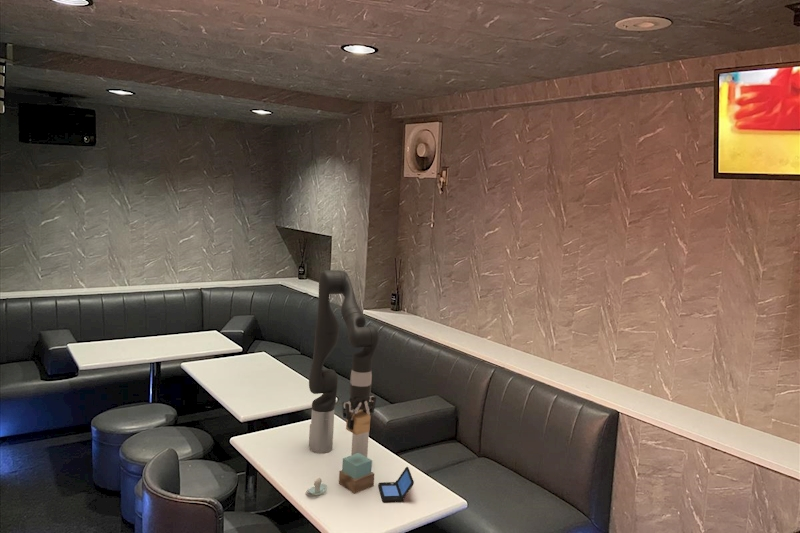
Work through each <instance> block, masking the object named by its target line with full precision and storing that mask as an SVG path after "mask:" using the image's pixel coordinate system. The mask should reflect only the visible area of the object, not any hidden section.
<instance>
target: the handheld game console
mask: <svg viewBox="0 0 800 533" xmlns="http://www.w3.org/2000/svg"><path fill="white" fill-rule="evenodd" d="M414 484H415V480H414V478H413V477H412V473H411V471H410V468H409V467H408V466H406V467H405V468H404V470H403V471H402V472H401V474H400V476H399V477H398V478H397V480H395V481H390V482H389V481H386V482H379V483H378V484H377V485H378V489H379V494H380V498H381V501H382V503H385V504H386V503H387V504H388V503H404V500H405V498H406V496H407V494H408V493H409V492H410V491H411V489H412V488H413V486H414Z"/></svg>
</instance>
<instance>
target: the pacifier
mask: <svg viewBox="0 0 800 533" xmlns="http://www.w3.org/2000/svg"><path fill="white" fill-rule="evenodd" d="M322 480H323V479H322V478H321V477H317V478H316V479H315V481H314V483H313V485H314V486H313V487H310V488H307V489H306V490H305V494H306V495H307V496H312V497H317V496H320V495H322V494H324V493H325V492H326V491H327V488H328V486H327V485H326V484H324V483H322V482H323V481H322Z"/></svg>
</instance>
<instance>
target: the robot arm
mask: <svg viewBox="0 0 800 533" xmlns="http://www.w3.org/2000/svg"><path fill="white" fill-rule="evenodd" d="M339 294H340V295H343V297H344V298H343V302H342V305H341V307H340V311H341V317H342V318H343V321H344V323H345V325H346V327H347V328H346V329H347V335H348V342H349V344H350V345H351V346H352V347H354V348H356V349H357V348H363V349H362V350H360V351H357V352H354V354H353V355H352V358H351V370H350V372H351V373H350V376H349V377H350V378H349V380H350V381H349V395H350V396H349V401H347V402H345V401H343V402H342V403H341V405H342V417H343V418H344V419H345V420H346V421H347V420H348V424H347V427H348V428H349V429H350V430H353V425H354V420H353V419H354V417H355V415H356V414H357V412H358V411H359V410H362V411H363V412H365V413H367V414H369V415H371V414H373V413H374V412H375V408H376V402H377V397H376V396H375V395H372V394H371V393H372V379H373V374H372V369H373V368H372V366H373V358H374V355H375V353H376V349H377V346H378V344H379V339H380V338H379V336H380V335H379V331H378V329H377V328H376V327H375V326H365V325H366V322H367V321H366V317H365V315H364V314H363V311H362V310H361V308H360V306H359V304H358V302H357V298H356V295H355V292H354V288H353V285H352V282H351V278H350V276H349V274H348V273H347V272H346V271H345V270H341V269H339V270H334V269H333V270H331V269H330V270H322V272H320V275H319V280H318V303H317V304H318V306H317V315H316V316H317V317H316V322H315V324H316V325H315V332H314V333H315V334H314V346H313V355H312V360H311V361H312V362H311V366H310V369H309V370H310V371H309V378H308V387H309V391H310V393H312V394H313V395H314V394H315V395H318V394H321V395H320V396H318V397H317V398H315V399H314V400H312V402H311V420H310V422H311V423H310V424H309V434H308V439H309V440H308V447H309V450H310V451H312V452H313V453H316V454H326V453H330V452H331V451H332V450H333V443H334V442H333V441H334V440H333V439H334V428H335V427H334V425H335V407H336V406H335V405H336V401H337V393H338V381H339V380H338V375H337V372H336V370H334V369H332V368H330V369H329V368H327V369H323V367H324V365H325V362H326V360H327V359H328V357H329V356H330V354H331V353H332V352H333V350H334V349H335V347H336V346H337V344H338V341H339V336H340V335H339V333H340V324H339V321H338V318H337V317H336V315H335V313H334V312H333V310H332V307H331V306H330V305H331V304H330V295H339ZM351 414H352V415H351Z"/></svg>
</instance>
